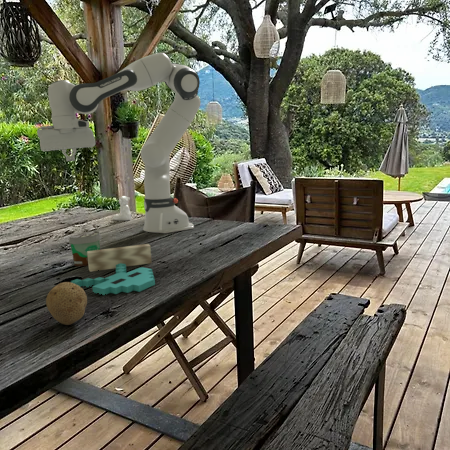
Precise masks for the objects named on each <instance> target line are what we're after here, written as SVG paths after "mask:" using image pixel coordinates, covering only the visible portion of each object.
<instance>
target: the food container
mask: <svg viewBox="0 0 450 450" xmlns="http://www.w3.org/2000/svg"><path fill="white" fill-rule="evenodd" d="M101 240H102V235H101V232H100V231H99V230H96V229H95V230H93V232H92V233H88V234H81V235H80V236H78V237H72V236H71V237H70V236H69V239H68V244H70V247H71V248H70V249H71V253H72V258H73V259H72V260H73V265H74V266H75V267H88V255H87V251H94V250H101V249H100V247H101V246H100V244H101V243H100V241H101Z"/></svg>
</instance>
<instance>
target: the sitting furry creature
mask: <svg viewBox="0 0 450 450" xmlns="http://www.w3.org/2000/svg"><path fill="white" fill-rule="evenodd" d="M130 200H131V197H127V196H126V195H122V196H120V197H119V199H118V204H119V205H120V208H119V214H114V215H113V216H112V220H113V221H123V222H125V221H126V222H127V221H130V220H131V219H132V217H133V215H132V212H131V211H130V207H129V205H128V203H129V201H130Z"/></svg>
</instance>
